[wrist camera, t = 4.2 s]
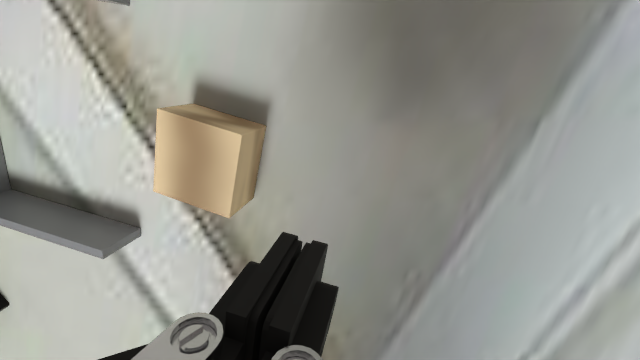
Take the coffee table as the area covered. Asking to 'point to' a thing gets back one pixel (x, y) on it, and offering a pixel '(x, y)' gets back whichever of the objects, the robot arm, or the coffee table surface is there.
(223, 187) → the wooden block
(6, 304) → the coral
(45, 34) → the coffee table surface
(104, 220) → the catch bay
